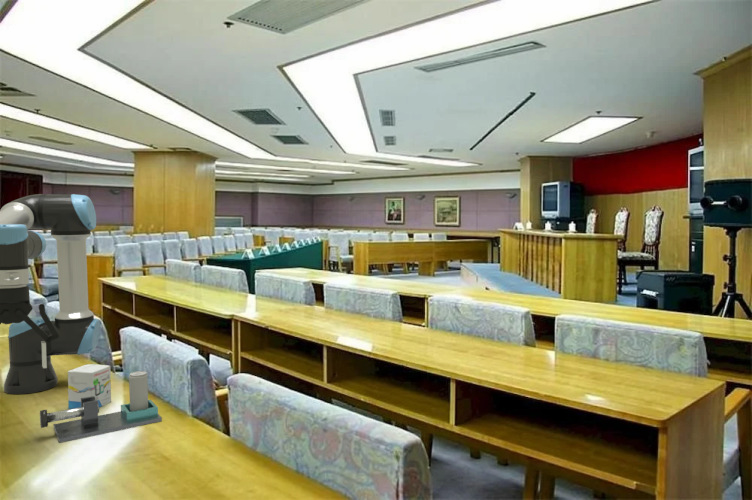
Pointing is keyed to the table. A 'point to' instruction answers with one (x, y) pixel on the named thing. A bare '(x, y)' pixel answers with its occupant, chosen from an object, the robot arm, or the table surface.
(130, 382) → the beverage can
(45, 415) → the shaft
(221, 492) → the table surface
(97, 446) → the table surface
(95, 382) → the ink box
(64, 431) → the bolt fixture plate
